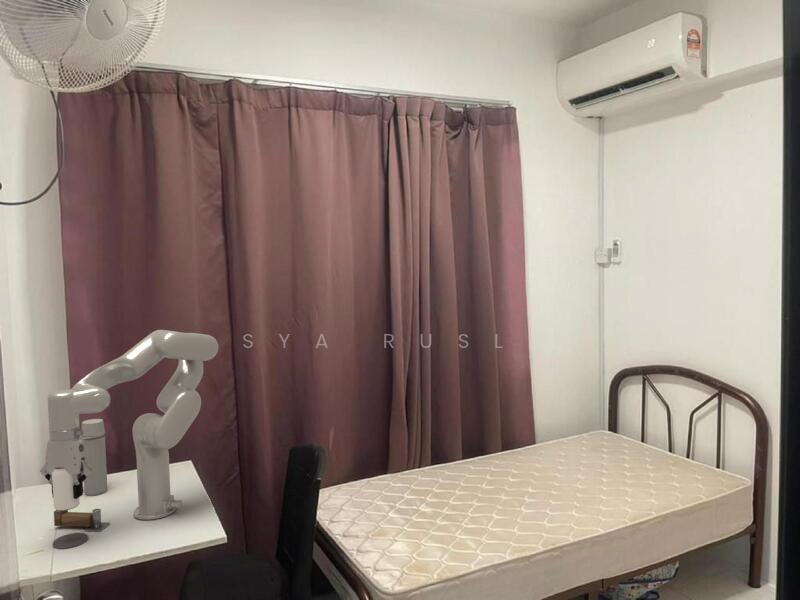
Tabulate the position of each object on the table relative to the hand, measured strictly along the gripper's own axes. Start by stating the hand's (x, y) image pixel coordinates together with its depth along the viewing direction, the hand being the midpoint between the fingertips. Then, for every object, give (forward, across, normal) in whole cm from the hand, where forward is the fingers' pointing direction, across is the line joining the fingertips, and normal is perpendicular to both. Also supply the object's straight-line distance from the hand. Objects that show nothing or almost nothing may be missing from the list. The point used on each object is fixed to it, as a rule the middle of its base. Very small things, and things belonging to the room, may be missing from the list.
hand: (67, 496), depth 173 cm
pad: (+13, 0, 0) cm, 13 cm away
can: (+3, 0, 0) cm, 3 cm away
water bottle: (+13, +15, -36) cm, 41 cm away
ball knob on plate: (+13, -3, -9) cm, 16 cm away
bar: (+12, +4, -9) cm, 16 cm away
